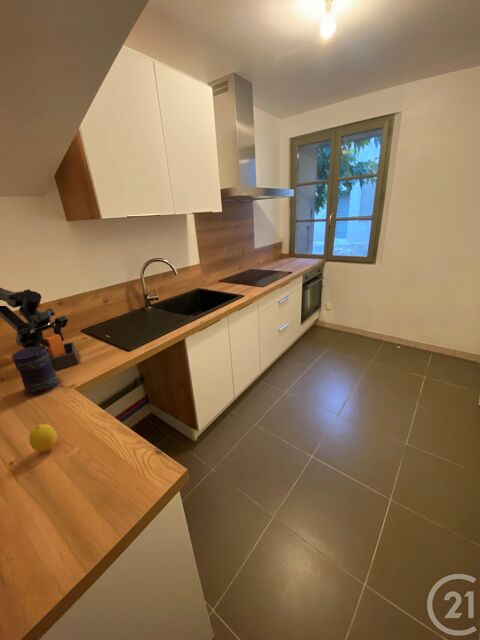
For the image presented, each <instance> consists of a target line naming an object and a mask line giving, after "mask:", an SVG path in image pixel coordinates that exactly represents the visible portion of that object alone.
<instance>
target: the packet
mask: <svg viewBox="0 0 480 640" xmlns="http://www.w3.org/2000/svg"><path fill="white" fill-rule="evenodd" d="M43 339H44V340H45V341H46V342H47V343H48V344H49V347H46V349H47V348H48V351H49V354H50V356H51V358H54V357H58V356H62V355H65V354H66V351H65V348H64V346H63V344H64V342H63V341H62V340H61V337H60V335H58V334H55V333H54V334H52V335H50V336H47V337H43Z"/></svg>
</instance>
